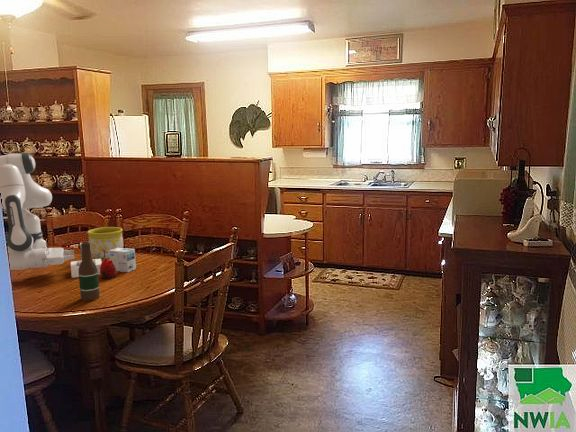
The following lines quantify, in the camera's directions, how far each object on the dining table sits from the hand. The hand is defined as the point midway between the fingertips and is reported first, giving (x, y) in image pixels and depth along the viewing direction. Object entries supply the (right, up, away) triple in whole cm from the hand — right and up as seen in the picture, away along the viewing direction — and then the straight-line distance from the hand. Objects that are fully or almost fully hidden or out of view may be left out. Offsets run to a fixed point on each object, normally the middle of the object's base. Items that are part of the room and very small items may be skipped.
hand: (74, 254), depth 231 cm
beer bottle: (+22, -16, -33) cm, 43 cm away
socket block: (+5, -9, +4) cm, 11 cm away
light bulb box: (+21, -9, +8) cm, 25 cm away
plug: (+5, -8, +3) cm, 10 cm away
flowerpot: (+5, -5, +29) cm, 30 cm away
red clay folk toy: (+18, -11, -4) cm, 22 cm away
